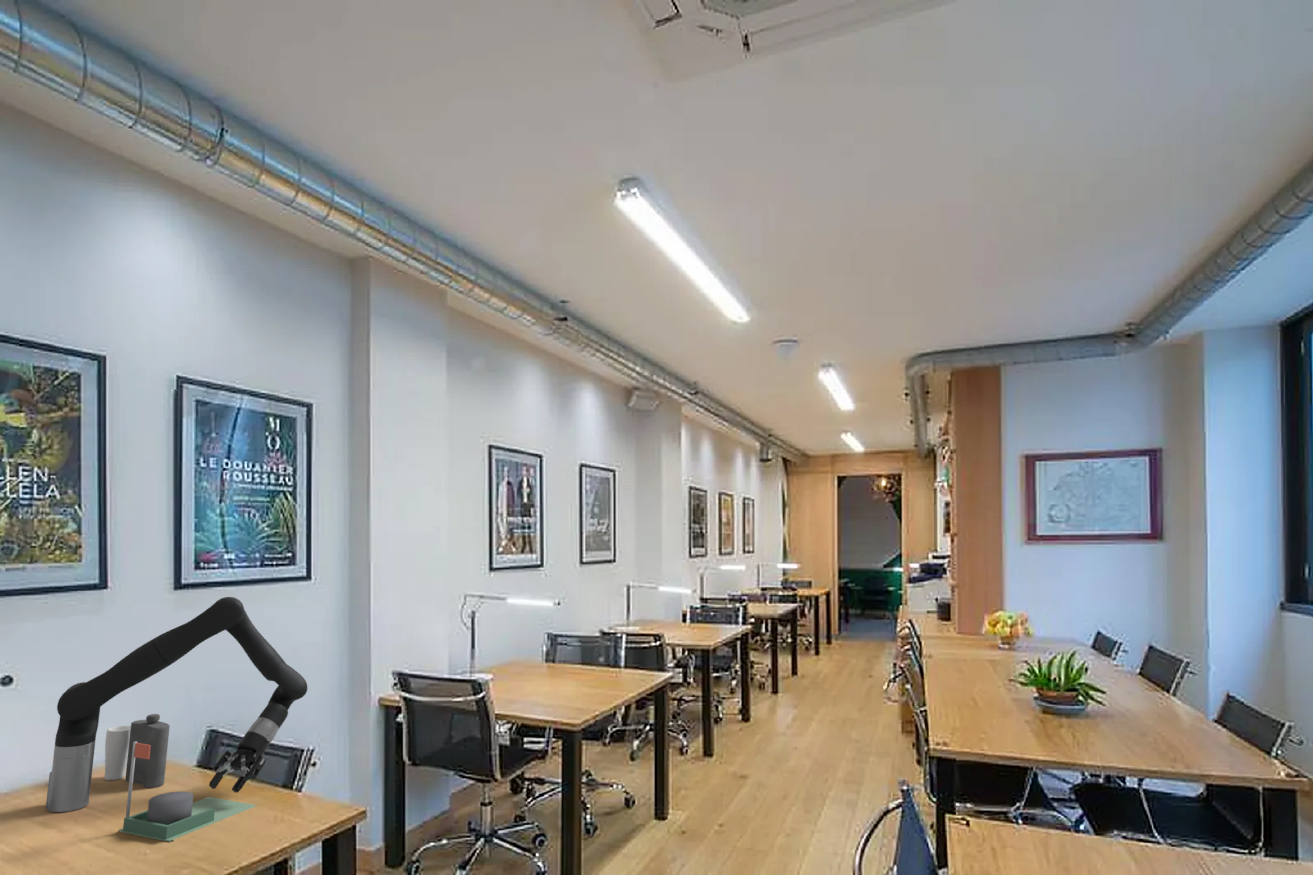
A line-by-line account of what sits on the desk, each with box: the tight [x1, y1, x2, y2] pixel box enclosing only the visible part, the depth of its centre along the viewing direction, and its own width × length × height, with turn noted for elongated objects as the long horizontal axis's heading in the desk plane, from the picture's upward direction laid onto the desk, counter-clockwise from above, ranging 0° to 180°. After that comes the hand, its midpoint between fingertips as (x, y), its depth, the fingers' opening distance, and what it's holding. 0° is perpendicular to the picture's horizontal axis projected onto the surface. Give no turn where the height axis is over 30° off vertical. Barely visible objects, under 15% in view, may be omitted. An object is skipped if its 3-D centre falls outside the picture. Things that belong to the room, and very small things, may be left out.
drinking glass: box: [103, 725, 131, 781], centre depth 241 cm, size 7×7×15 cm
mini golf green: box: [118, 741, 258, 843], centre depth 211 cm, size 18×27×22 cm, turn 161°
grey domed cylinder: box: [147, 791, 194, 825], centre depth 204 cm, size 10×10×7 cm
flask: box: [124, 713, 170, 789], centre depth 238 cm, size 15×6×20 cm, turn 63°
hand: (222, 789), depth 219 cm, fingers open, 8 cm apart
